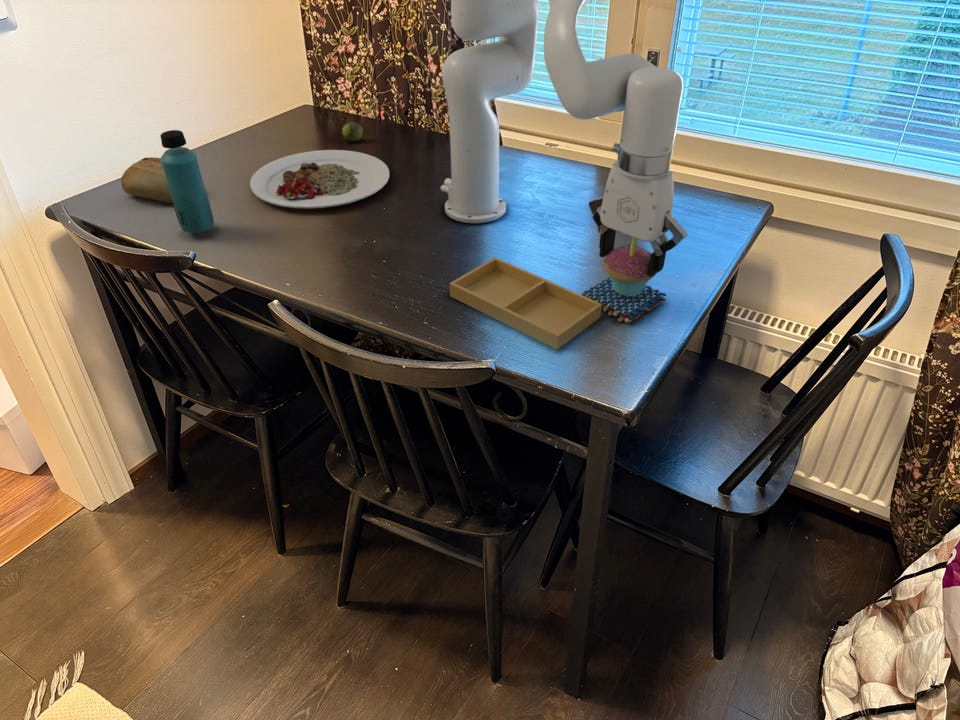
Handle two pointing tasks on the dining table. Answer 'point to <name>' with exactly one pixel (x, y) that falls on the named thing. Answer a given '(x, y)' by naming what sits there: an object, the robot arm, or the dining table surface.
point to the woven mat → (624, 300)
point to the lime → (352, 131)
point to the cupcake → (628, 268)
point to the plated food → (319, 179)
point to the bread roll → (147, 180)
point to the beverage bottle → (185, 184)
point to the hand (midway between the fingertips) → (629, 263)
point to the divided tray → (526, 302)
